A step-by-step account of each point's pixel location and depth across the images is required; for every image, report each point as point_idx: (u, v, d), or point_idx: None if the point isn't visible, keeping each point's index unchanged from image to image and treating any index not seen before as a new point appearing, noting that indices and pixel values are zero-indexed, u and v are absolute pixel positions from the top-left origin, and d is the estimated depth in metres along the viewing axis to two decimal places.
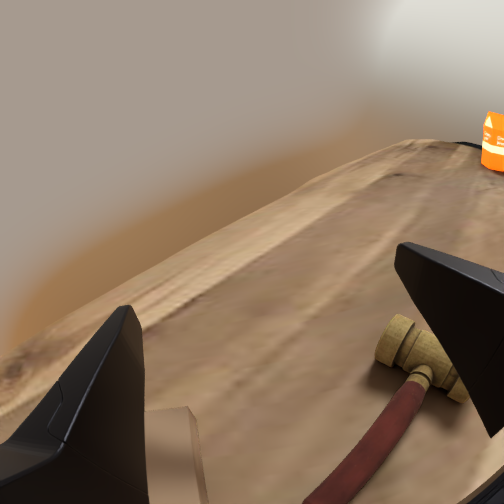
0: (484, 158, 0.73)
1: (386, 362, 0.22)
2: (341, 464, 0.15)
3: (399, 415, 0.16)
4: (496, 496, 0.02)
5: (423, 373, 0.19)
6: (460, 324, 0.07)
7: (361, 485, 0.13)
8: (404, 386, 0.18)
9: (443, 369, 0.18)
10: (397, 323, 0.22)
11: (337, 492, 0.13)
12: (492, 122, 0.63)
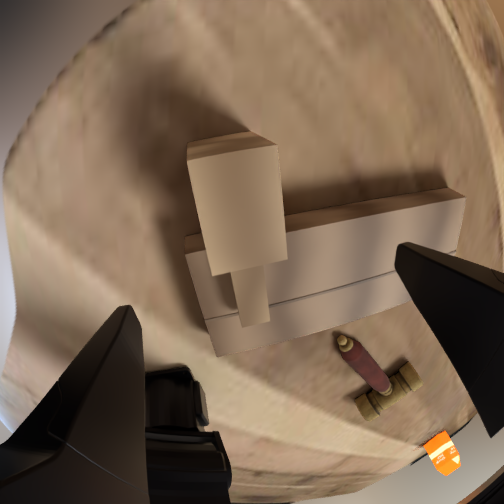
0: (444, 436, 0.82)
1: (404, 371, 0.35)
2: (372, 360, 0.30)
3: (378, 384, 0.32)
4: (496, 496, 0.02)
5: (387, 392, 0.34)
6: (460, 324, 0.07)
7: (355, 370, 0.31)
8: (389, 384, 0.34)
9: (382, 401, 0.35)
10: (419, 386, 0.34)
11: (360, 364, 0.29)
12: (453, 462, 0.69)
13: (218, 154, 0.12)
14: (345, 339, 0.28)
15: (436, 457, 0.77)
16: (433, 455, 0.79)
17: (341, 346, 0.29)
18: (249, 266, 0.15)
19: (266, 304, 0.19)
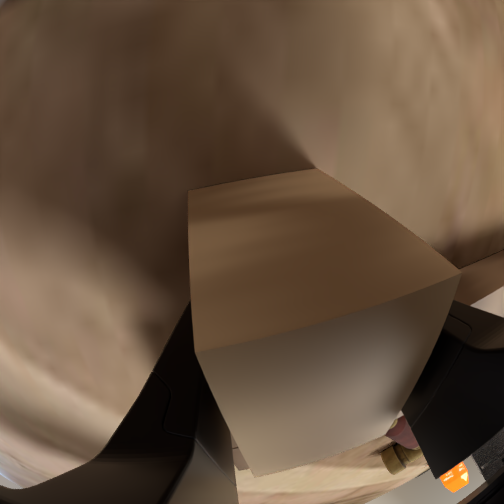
0: None
1: None
2: None
3: (412, 445, 0.24)
4: (496, 496, 0.02)
5: (418, 447, 0.26)
6: None
7: None
8: None
9: (410, 456, 0.26)
10: None
11: (400, 437, 0.20)
12: (462, 479, 0.61)
13: (309, 322, 0.03)
14: None
15: (444, 474, 0.69)
16: None
17: None
18: (322, 458, 0.06)
19: None
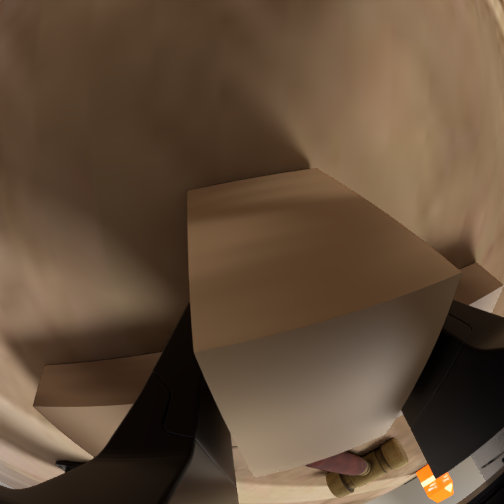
0: None
1: (386, 450, 0.26)
2: (341, 458, 0.21)
3: (350, 473, 0.23)
4: (496, 496, 0.02)
5: (363, 473, 0.25)
6: None
7: None
8: (365, 468, 0.24)
9: (356, 481, 0.25)
10: (402, 465, 0.24)
11: (323, 468, 0.20)
12: (446, 491, 0.60)
13: (308, 322, 0.03)
14: None
15: (428, 485, 0.68)
16: (425, 483, 0.70)
17: None
18: (322, 458, 0.06)
19: None
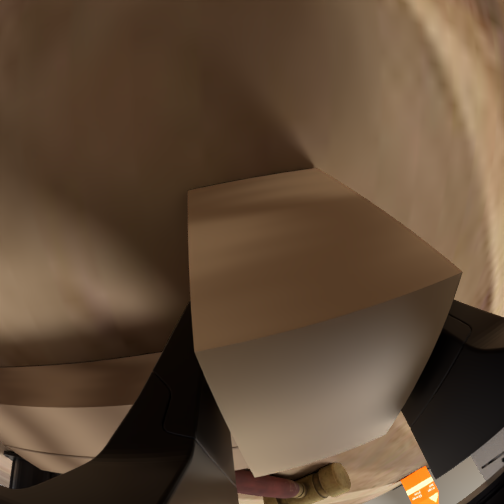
0: (424, 472, 0.72)
1: (323, 476, 0.24)
2: (253, 483, 0.20)
3: (276, 497, 0.21)
4: (496, 496, 0.02)
5: (298, 496, 0.24)
6: None
7: None
8: (296, 492, 0.23)
9: (292, 502, 0.24)
10: (342, 493, 0.23)
11: None
12: (431, 500, 0.59)
13: (309, 322, 0.03)
14: None
15: (413, 494, 0.67)
16: (410, 491, 0.69)
17: None
18: (322, 458, 0.06)
19: None
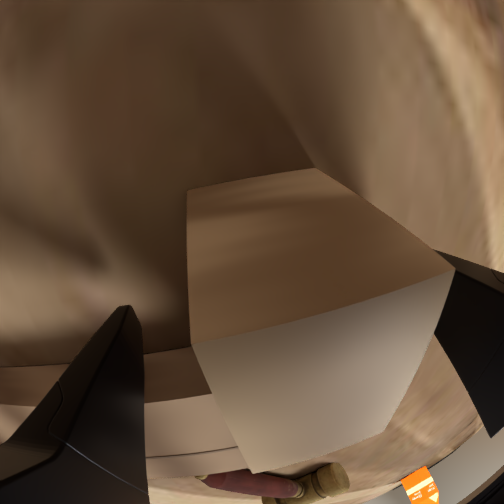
0: (424, 472, 0.72)
1: (321, 476, 0.24)
2: (252, 483, 0.19)
3: (274, 497, 0.21)
4: (496, 496, 0.02)
5: (296, 496, 0.24)
6: (460, 324, 0.07)
7: None
8: (294, 492, 0.23)
9: (290, 502, 0.24)
10: (341, 493, 0.23)
11: (228, 490, 0.18)
12: (431, 500, 0.59)
13: (303, 316, 0.04)
14: None
15: (413, 493, 0.67)
16: (410, 491, 0.69)
17: None
18: (320, 455, 0.07)
19: None
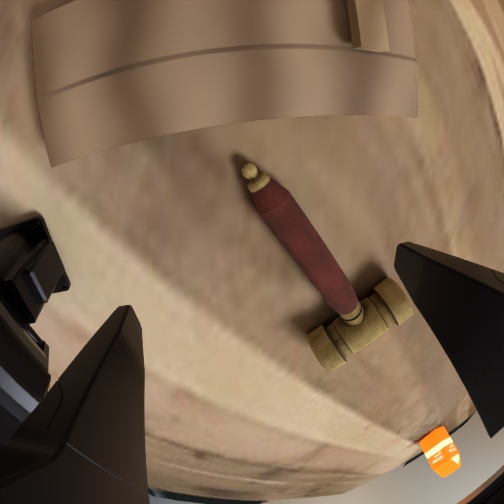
0: (442, 431, 0.73)
1: (381, 287, 0.25)
2: (314, 231, 0.20)
3: (335, 291, 0.22)
4: (496, 496, 0.02)
5: (355, 318, 0.24)
6: (460, 324, 0.07)
7: (285, 245, 0.21)
8: (355, 300, 0.24)
9: (347, 335, 0.25)
10: (407, 313, 0.24)
11: (288, 226, 0.19)
12: (453, 462, 0.60)
13: None
14: (253, 166, 0.18)
15: (433, 456, 0.68)
16: (429, 453, 0.70)
17: (249, 183, 0.19)
18: None
19: (385, 27, 0.12)
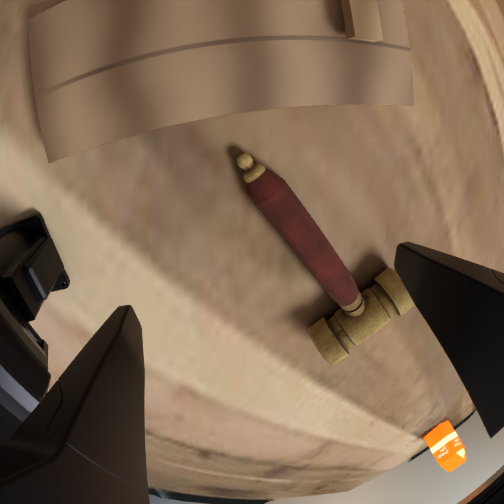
0: (447, 426, 0.73)
1: (381, 278, 0.25)
2: (312, 221, 0.20)
3: (335, 281, 0.22)
4: (496, 496, 0.02)
5: (357, 309, 0.24)
6: (460, 324, 0.07)
7: (283, 235, 0.20)
8: (356, 290, 0.23)
9: (349, 327, 0.25)
10: (408, 303, 0.23)
11: (285, 215, 0.19)
12: (458, 456, 0.60)
13: None
14: (248, 156, 0.18)
15: (438, 450, 0.68)
16: (435, 448, 0.70)
17: (245, 173, 0.18)
18: None
19: (378, 17, 0.11)
